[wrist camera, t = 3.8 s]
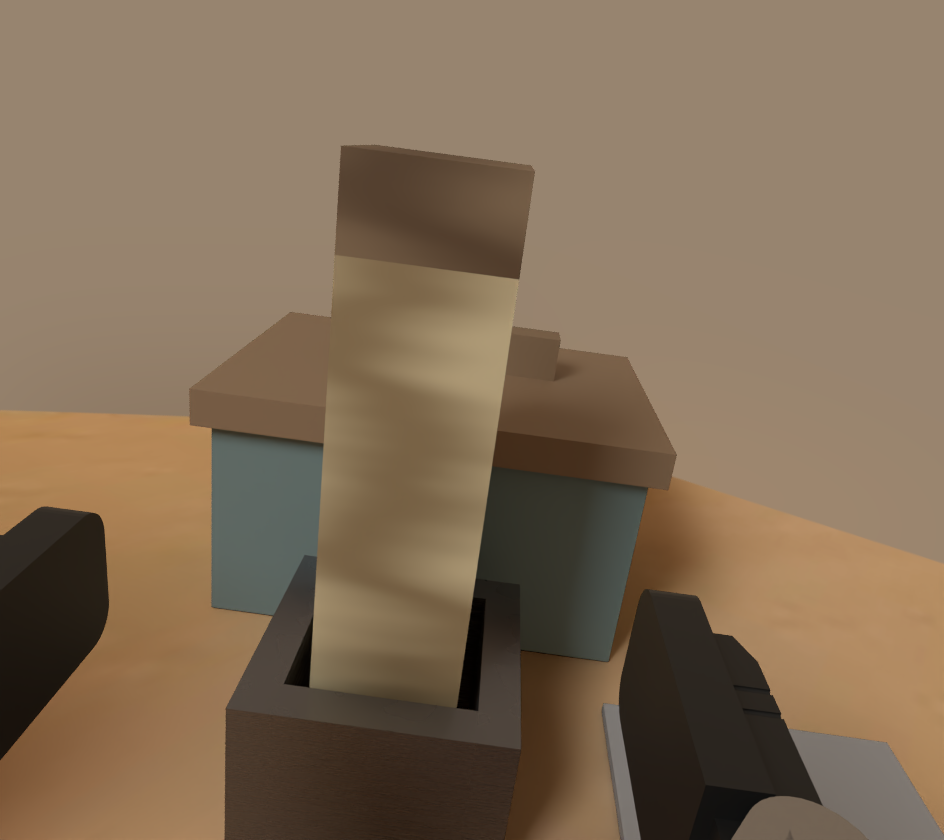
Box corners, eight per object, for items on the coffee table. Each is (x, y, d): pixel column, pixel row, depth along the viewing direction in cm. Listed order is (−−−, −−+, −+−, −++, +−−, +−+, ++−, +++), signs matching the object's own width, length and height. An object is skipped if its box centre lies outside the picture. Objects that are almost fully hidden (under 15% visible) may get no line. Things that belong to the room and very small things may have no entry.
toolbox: (593, 521, 36) (634, 321, 33) (624, 673, 26) (688, 405, 22) (284, 478, 36) (292, 276, 33) (191, 613, 26) (189, 338, 22)
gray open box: (502, 690, 24) (519, 584, 23) (497, 878, 18) (520, 749, 17) (298, 662, 24) (304, 555, 23) (224, 840, 18) (226, 708, 17)
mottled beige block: (451, 717, 23) (531, 165, 17) (440, 817, 19) (534, 171, 14) (334, 701, 23) (375, 144, 17) (302, 798, 19) (341, 145, 14)
